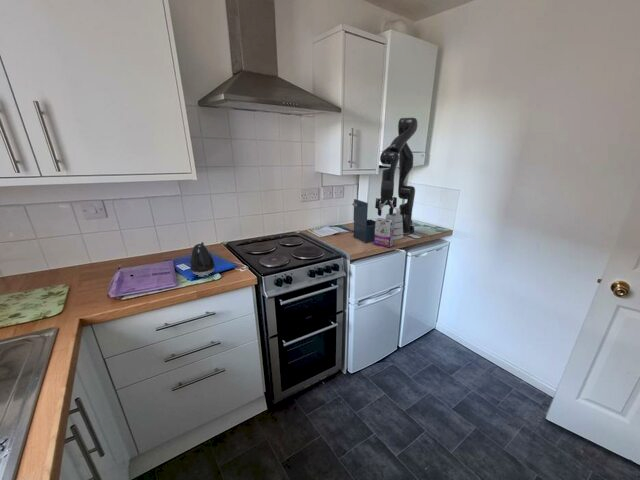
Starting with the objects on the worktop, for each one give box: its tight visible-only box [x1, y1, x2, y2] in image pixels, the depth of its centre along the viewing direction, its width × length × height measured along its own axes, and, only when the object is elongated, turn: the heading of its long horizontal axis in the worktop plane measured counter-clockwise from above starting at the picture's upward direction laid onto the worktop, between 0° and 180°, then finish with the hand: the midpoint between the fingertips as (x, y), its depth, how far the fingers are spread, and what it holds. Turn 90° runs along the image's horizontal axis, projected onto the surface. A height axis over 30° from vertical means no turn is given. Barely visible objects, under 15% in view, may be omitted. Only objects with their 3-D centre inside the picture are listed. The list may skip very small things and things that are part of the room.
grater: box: [385, 207, 404, 241], centre depth 201 cm, size 10×10×20 cm
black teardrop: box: [189, 241, 216, 278], centre depth 137 cm, size 10×10×15 cm
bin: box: [352, 218, 375, 244], centre depth 199 cm, size 14×15×11 cm
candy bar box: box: [373, 217, 395, 248], centre depth 185 cm, size 11×5×16 cm, turn 58°
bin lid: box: [352, 198, 369, 226], centre depth 189 cm, size 14×15×5 cm
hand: (385, 215), depth 181 cm, fingers open, 8 cm apart
